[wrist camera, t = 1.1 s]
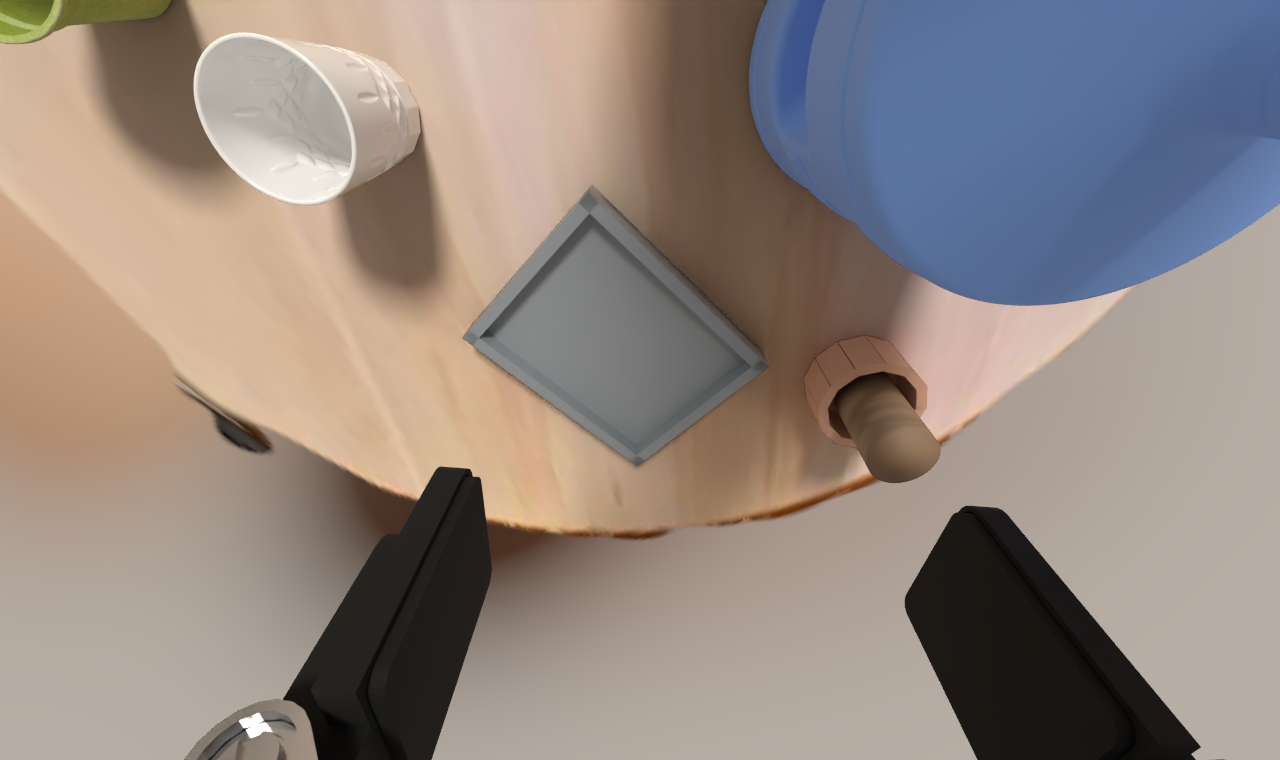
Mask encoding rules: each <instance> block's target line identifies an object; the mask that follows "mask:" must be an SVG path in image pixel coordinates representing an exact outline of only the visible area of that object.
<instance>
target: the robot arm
mask: <svg viewBox="0 0 1280 760" xmlns="http://www.w3.org/2000/svg"><path fill="white" fill-rule="evenodd" d="M491 571H492V565H491V557H490V549H489V541H488V533H487V525H486V517H485V509H484V500H483V492H482V484H481V479H480V477H473V476H472V472H471V470H470V469H465V468H451V467H439V468H437V469H436V471H435V472H434V474H433V476H432V477H431V479H430V481H429V483H428V484H427V486H426V488H425V490H424V491H423V493H422V495H421V497H420V499H419V500H418V502H417V504H416V506H415V507H414V509H413V511H412V513H411V514H410V516H409V518H408V520H407V521H406V523H405V525H404V527H403V528H402V530H401V532H400V534H393V533H391V534H387V535H385V536H384V537H383V538H381V540H380V541H379V543H378V544H377V545H376V547H375V548H374V550H373V552H372V553H371V555H370V557H369V558H368V560H367V562H366V563H365V565H364V566H363V568H362V570H361V571H360V573H359V575H358V576H357V578H356V580H355V581H354V583H353V585H352V586H351V588H350V590H349V591H348V593H347V595H346V596H345V598H344V600H343V602H342V603H341V604H340V606H339V608H338V609H337V611H336V613H335V614H334V616H333V618H332V619H331V621H330V623H329V624H328V626H327V628H326V629H325V631H324V632H323V634H322V636H321V638H320V639H319V641H318V643H317V644H316V646H315V647H314V649H313V651H312V652H311V654H310V656H309V657H308V660H307V661H306V662H305V664H304V666H303V667H302V669H301V670H300V672H299V674H298V675H297V677H296V679H295V680H294V682H293V684H292V685H291V687H290V689H289V690H288V692H287V694H286V696H285V697H284V698H283V700H280V699H274V700H268V701H262V702H258V703H255V704H253V705H250V706H248V707H245V708H243V709H241V710H238V711H237V712H235V713H233V714H232V715H230V716H229V717H227V718H226V719H224V720H223V721H221V722H220V723H218V724H217V725H216V726H215V727H214V728H212V729H211V730H210V731H209V732H208V733H207V734H206V735H205V736H204V737H202V738H201V739H200V740H199V741H198V742H197V743H196V745H195V746H194V747H193V748H192V750H191V751H190V752H189V754H188V755H187V756H186V758H185V759H184V760H431V759H432V756H433V753H434V750H435V747H436V744H437V741H438V738H439V735H440V732H441V729H442V726H443V723H444V720H445V717H446V714H447V711H448V708H449V705H450V702H451V699H452V696H453V693H454V690H455V687H456V684H457V680H458V678H459V674H460V672H461V668H462V665H463V662H464V659H465V656H466V653H467V650H468V647H469V644H470V641H471V638H472V635H473V632H474V629H475V626H476V623H477V620H478V617H479V614H480V611H481V608H482V605H483V602H484V599H485V596H486V593H487V590H488V587H489V583H490V578H491ZM905 608H906V612H907V615H908V617H909V619H910V621H911V623H912V625H913V627H914V630H915V632H916V634H917V636H918V638H919V639H920V642H921V644H922V646H923V648H924V650H925V652H926V654H927V656H928V658H929V660H930V663H931V665H932V666H933V669H934V671H935V673H936V675H937V677H938V679H939V681H940V683H941V685H942V687H943V689H944V691H945V694H946V696H947V698H948V699H949V702H950V704H951V706H952V708H953V710H954V712H955V714H956V716H957V718H958V720H959V722H960V724H961V727H962V729H963V731H964V733H965V735H966V737H967V739H968V741H969V743H970V745H971V747H972V749H973V751H974V753H975V755H976V758H977V759H978V760H1195V758H1194V757H1193V756H1192V755H1191V754H1192V753H1193V752H1195V751H1196V750H1197V749H1199V748H1200V745H1199V744H1198V743H1197V742H1196V741H1195V739H1194V738H1193V737H1192V736H1191V735H1190V733H1189V732H1188V731H1187V730H1186V729H1185V727H1184V726H1183V725H1182V724H1181V723H1180V721H1179V720H1178V719H1177V718H1176V717H1175V715H1174V714H1173V713H1172V712H1171V711H1170V710H1169V708H1168V707H1167V706H1166V705H1165V703H1164V702H1163V701H1162V700H1161V699H1160V697H1159V696H1158V695H1157V694H1156V693H1155V692H1154V690H1153V689H1152V688H1151V687H1150V685H1149V684H1148V683H1147V682H1146V681H1145V679H1144V678H1143V677H1142V676H1141V675H1140V673H1139V672H1138V671H1137V670H1136V669H1135V667H1134V666H1133V665H1132V664H1131V663H1130V661H1129V660H1128V659H1127V658H1126V657H1125V655H1124V654H1123V653H1122V652H1121V651H1120V649H1119V648H1118V647H1117V646H1116V645H1115V643H1114V642H1113V641H1112V640H1111V639H1110V637H1109V636H1108V635H1107V634H1106V633H1105V632H1104V630H1103V629H1102V628H1101V627H1100V625H1099V624H1098V623H1097V622H1096V621H1095V619H1094V618H1093V617H1092V616H1091V615H1090V613H1089V612H1088V611H1087V610H1086V609H1085V607H1084V606H1083V605H1082V604H1081V603H1080V601H1079V600H1078V599H1077V598H1076V597H1075V595H1074V594H1073V593H1072V592H1071V591H1070V589H1069V588H1068V587H1067V586H1066V585H1065V584H1064V582H1063V581H1062V580H1061V579H1060V577H1059V576H1058V575H1057V574H1056V573H1055V572H1054V570H1053V569H1052V568H1051V567H1050V565H1049V564H1048V563H1047V562H1046V561H1045V559H1044V558H1043V557H1042V556H1041V555H1040V553H1039V552H1038V551H1037V550H1036V549H1035V547H1034V546H1033V545H1032V544H1031V543H1030V541H1029V540H1028V539H1027V538H1026V537H1025V535H1024V534H1023V533H1022V532H1021V531H1020V529H1019V528H1018V527H1017V526H1016V525H1015V523H1014V522H1013V521H1012V520H1011V519H1010V517H1009V516H1008V515H1007V514H1006V513H1005V512H1004V511H1003V510H1001V509H998V508H991V507H977V506H965V507H963V508H961V510H960V511H959V512H958V513H955V514H953V516H952V517H951V519H950V520H949V522H948V524H947V525H946V527H945V529H944V530H943V532H942V534H941V536H940V537H939V539H938V541H937V543H936V544H935V546H934V548H933V549H932V551H931V553H930V555H929V556H928V558H927V560H926V562H925V563H924V565H923V567H922V568H921V570H920V572H919V574H918V576H917V577H916V579H915V580H914V582H913V584H912V586H911V587H910V589H909V591H908V592H907V594H906V597H905ZM1218 760H1224V759H1218Z"/></svg>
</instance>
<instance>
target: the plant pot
mask: <svg viewBox="0 0 1280 760" xmlns="http://www.w3.org/2000/svg"><path fill="white" fill-rule="evenodd" d="M170 3H171V0H0V43H6V44H25V43H32V42H36V41H39V40H42V39H44V38H46V37H47V36H49V35H50V34H51V33H53V32H55V31H58V30H60V29H62V28H64V27H66V26H70V25H80V24H90V23H101V22H113V21H128V20H141V19H150V18H154V17H157V16H159V15H161V14H162V13H164V12H165V10H166V9H167V8H168V6H169V5H170Z"/></svg>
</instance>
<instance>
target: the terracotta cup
mask: <svg viewBox="0 0 1280 760" xmlns="http://www.w3.org/2000/svg"><path fill="white" fill-rule="evenodd" d="M815 358H816V359H814V360H813V362H812V364H811V366H810V368H809V370H808V372H807V374H806V376H805V378H804V384H805V392H806V399H807V401H808V403H809V406H810V408H811V410H812V412H813V414H814V416H815V419H816V421H817V423H818V425H819V427H820V429H821V430H822V431H823V432H824V433H825V434H826V435H827V436H828V437H829V438H830V439H831V440H832V441H833V442H834V443H836V444H839V445H843V446H848V447H853V448H857V447H856V445H855V443H854V441H853V439H852V437H851V435H850V433H849V432H848V430H847V428H846V426H845V424H844V422H843V420H842V418H841V417H840V415H839V413H838V411H837V409H836V407H835V405H834V403H833V401H832V400H833V398H834V397H835V395H836V393H837V391H838V390H839V389H841V388H842V387H844V386H845V385H847V384H848V383H850V382H851V381H852V380H854V379H855V378H857V377H858V376H863V375H868V374H872V373H877V372H882V371H884V372H886V374H887V375H888V376H889V378H890V379H891V380H892V382H893V383H894V384H895V386H896V387H897V388H898V389H899V391H900V392H901V393H902V395H903V396H904V397H905V399H906V400H907V401H908V403H909V404H910V405H911V407H912V408H913V409H914V411H915V412H916V413H917V415H918V416H919V417H921V415H922V414H923V412H924V411H925V410H926V407H927V385H926V384H925V383H924V381H923V380H922V379H921V378H920V377H919V376H918V374H917V373H916V372H915V371H914V370H913V369H912V367H911V366H910V365H909V364H908V363H907V362H906V360H905V359H904V358H903V357H902V356H901V355H900V353H899V352H898V351H897V350H896V349H895V348H894V346H893V345H892V344H891V343H890V342H889V341H885V340H881V339H877V338H873V337H869V336H860V337H856V338H851V339H847V340H842V341H838V343H837V342H836V343H835V344H833V345H832V346H830V347H829V348H828V349H826V350H825V351H824V352H822V353H821V354H820V355H818V356H817V357H815Z"/></svg>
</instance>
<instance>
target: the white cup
mask: <svg viewBox="0 0 1280 760" xmlns="http://www.w3.org/2000/svg"><path fill="white" fill-rule="evenodd" d="M194 99H195V104H196V108H197V112H198V115H199V118H200V121H201V123H202V126H203V128H204V130H205V132H206V134H207V136H208V138H209V140H210V141H211V143H212V145H213V146H214V148H215V149H216V151H217V152H218V153H219V155H220V156H221V157H222V159H223V160H224V161H225V162H226V163H227V164H228V166H229V167H230V168H231V169H232V170H233V171H234V172H235V173H236V174H238V175H239V176H240V177H241V178H242V179H243V180H245V181H246V182H247V183H248V184H250V185H251V186H253V187H254V188H256V189H257V190H259V191H260V192H262V193H264V194H266V195H268V196H270V197H272V198H274V199H277V200H279V201H282V202H286V203H290V204H295V205H305V206H308V205H318V204H322V203H325V202H328V201H330V200H332V199H334V198H336V197H338V196H340V195H342V194H344V193H346V192H348V191H350V190H352V189H353V188H355V187H357V186H359V185H361V184H363V183H365V182H367V181H369V180H371V179H373V178H375V177H377V176H378V175H380V174H381V173H383V172H385V171H387V170H388V169H390V168H391V167H393V165H396V164H398V163H399V162H400V161H402V160H403V159H404V158H406V157H407V156H408V155H409V154H411V153H412V152H413V151H414V149H415V146H416V143H417V141H418V138H419V135H420V132H421V128H420V118H419V108H418V105H417V103H416V101H415V99H414V97H413V95H412V93H411V91H410V89H409V87H408V85H407V83H406V82H405V81H404V80H403V79H402V78H401V77H400V76H399V75H398V74H397V73H396V72H395V71H394V70H393V69H392V68H391V67H390V66H389V65H388V64H387V63H386V62H383V61H381V60H378V59H376V58H374V57H371V56H369V55H366V54H364V53H361V52H354V51H349V50H346V49H342V48H338V47H333V46H327V45H322V44H318V43H312V42H306V41H299V40H293V39H286V38H280V37H273V36H267V35H261V34H255V33H233V34H229V35H226V36H223V37H221V38H219V39H217V40H215V41H214V42H212V43H211V44H210V45H209V46H208V47H207V48H206V49H205V50H204V52H203V53H202V55H201V56H200V58H199V60H198V63H197V66H196V69H195V74H194Z"/></svg>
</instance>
